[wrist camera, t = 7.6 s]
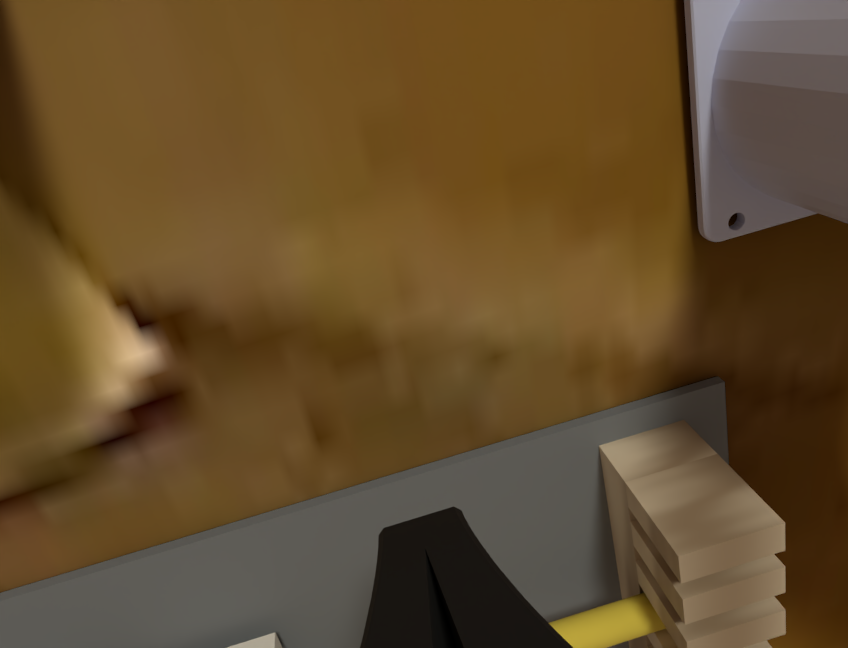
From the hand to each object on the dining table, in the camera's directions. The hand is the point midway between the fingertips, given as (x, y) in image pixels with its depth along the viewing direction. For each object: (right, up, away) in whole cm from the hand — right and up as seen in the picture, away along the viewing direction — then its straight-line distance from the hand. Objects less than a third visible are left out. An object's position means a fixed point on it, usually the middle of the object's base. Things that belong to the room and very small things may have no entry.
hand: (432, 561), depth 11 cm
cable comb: (+8, -4, +13) cm, 16 cm away
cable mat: (-2, -7, +13) cm, 15 cm away
